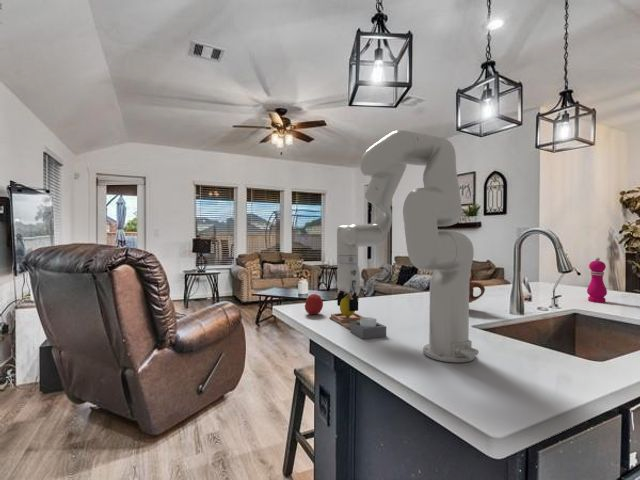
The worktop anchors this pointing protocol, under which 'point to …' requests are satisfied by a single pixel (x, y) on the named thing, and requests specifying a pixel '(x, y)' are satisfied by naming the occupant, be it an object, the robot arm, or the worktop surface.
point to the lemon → (345, 307)
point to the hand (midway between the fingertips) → (347, 308)
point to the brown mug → (471, 286)
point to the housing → (368, 331)
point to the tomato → (313, 304)
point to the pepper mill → (597, 282)
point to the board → (346, 319)
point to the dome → (367, 322)
